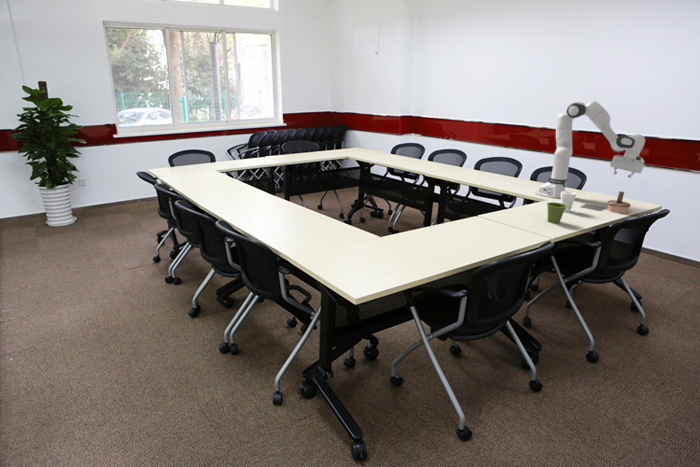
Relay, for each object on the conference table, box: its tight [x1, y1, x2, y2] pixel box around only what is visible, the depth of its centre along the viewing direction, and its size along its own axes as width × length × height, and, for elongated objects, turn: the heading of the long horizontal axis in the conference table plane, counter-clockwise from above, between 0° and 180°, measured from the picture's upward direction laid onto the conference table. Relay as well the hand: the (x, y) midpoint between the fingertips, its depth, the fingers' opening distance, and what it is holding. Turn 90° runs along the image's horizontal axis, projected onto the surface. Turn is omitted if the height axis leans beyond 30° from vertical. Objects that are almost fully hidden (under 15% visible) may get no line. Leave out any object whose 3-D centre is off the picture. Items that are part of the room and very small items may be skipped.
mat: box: [580, 203, 607, 212], centre depth 318 cm, size 14×14×1 cm
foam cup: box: [559, 190, 577, 213], centre depth 306 cm, size 10×9×13 cm
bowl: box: [606, 203, 630, 214], centre depth 311 cm, size 12×12×5 cm
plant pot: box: [546, 201, 567, 224], centre depth 281 cm, size 12×12×11 cm
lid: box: [606, 191, 631, 208], centre depth 309 cm, size 14×14×9 cm
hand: (621, 175), depth 314 cm, fingers open, 8 cm apart
